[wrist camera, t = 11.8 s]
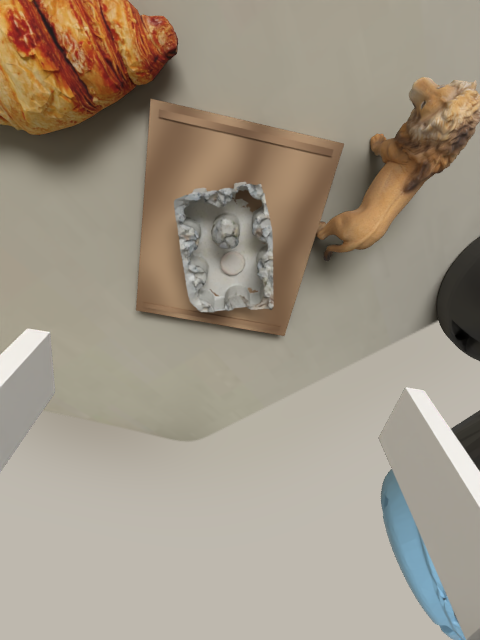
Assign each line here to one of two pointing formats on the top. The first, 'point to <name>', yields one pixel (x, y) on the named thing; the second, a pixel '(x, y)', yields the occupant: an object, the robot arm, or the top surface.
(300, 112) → the top surface
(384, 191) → the lion figurine
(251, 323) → the walnut board
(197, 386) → the top surface
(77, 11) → the croissant
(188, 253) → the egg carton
